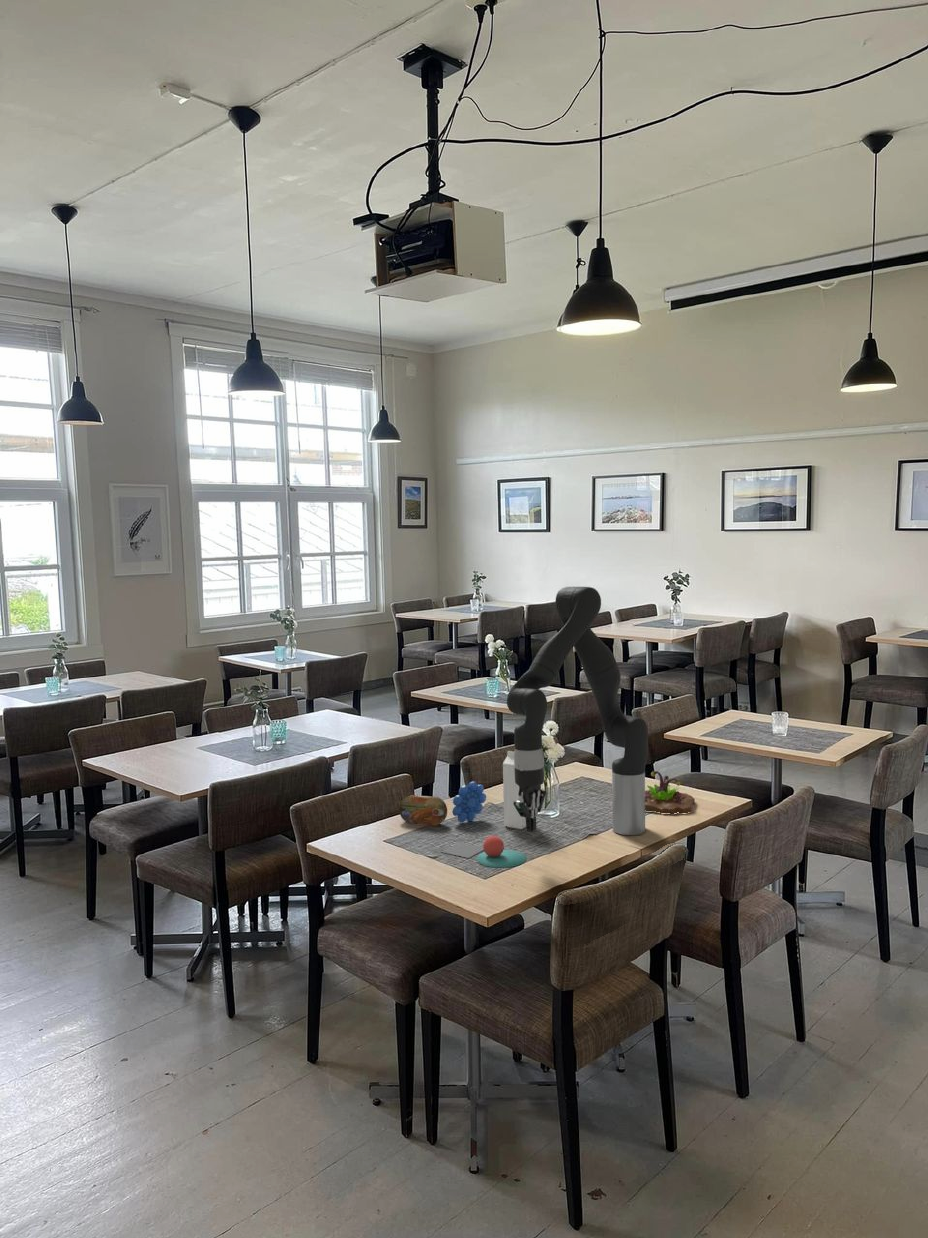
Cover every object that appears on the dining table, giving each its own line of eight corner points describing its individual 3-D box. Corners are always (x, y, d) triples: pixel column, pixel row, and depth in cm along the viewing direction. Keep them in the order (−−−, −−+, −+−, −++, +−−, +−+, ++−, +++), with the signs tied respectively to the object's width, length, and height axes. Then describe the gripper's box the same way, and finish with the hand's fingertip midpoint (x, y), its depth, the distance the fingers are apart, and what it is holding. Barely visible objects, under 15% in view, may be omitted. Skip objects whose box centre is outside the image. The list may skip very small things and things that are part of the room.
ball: (493, 831, 234) (508, 837, 230) (492, 850, 235) (507, 857, 231) (479, 835, 230) (494, 842, 226) (478, 855, 231) (493, 862, 227)
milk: (521, 829, 253) (520, 755, 251) (503, 826, 256) (502, 753, 254) (531, 823, 258) (530, 750, 256) (513, 820, 261) (512, 748, 259)
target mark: (494, 847, 238) (494, 846, 238) (535, 855, 231) (535, 855, 231) (467, 861, 228) (467, 860, 228) (509, 871, 220) (509, 870, 220)
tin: (398, 822, 262) (398, 795, 261) (403, 819, 265) (402, 792, 264) (444, 827, 256) (444, 799, 256) (449, 824, 259) (448, 796, 259)
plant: (635, 795, 286) (635, 761, 285) (696, 800, 279) (696, 765, 278) (624, 812, 267) (624, 777, 266) (689, 818, 260) (689, 781, 259)
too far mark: (460, 842, 242) (460, 842, 242) (487, 848, 237) (487, 847, 237) (441, 852, 235) (441, 851, 235) (468, 858, 230) (468, 857, 230)
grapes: (479, 814, 268) (478, 776, 267) (490, 820, 262) (489, 781, 261) (446, 821, 262) (445, 782, 261) (457, 827, 256) (456, 787, 255)
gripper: (529, 757, 229) (531, 821, 231) (502, 769, 219) (505, 836, 220) (554, 760, 225) (556, 825, 227) (528, 773, 214) (530, 841, 216)
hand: (531, 831), depth 223 cm, fingers closed
